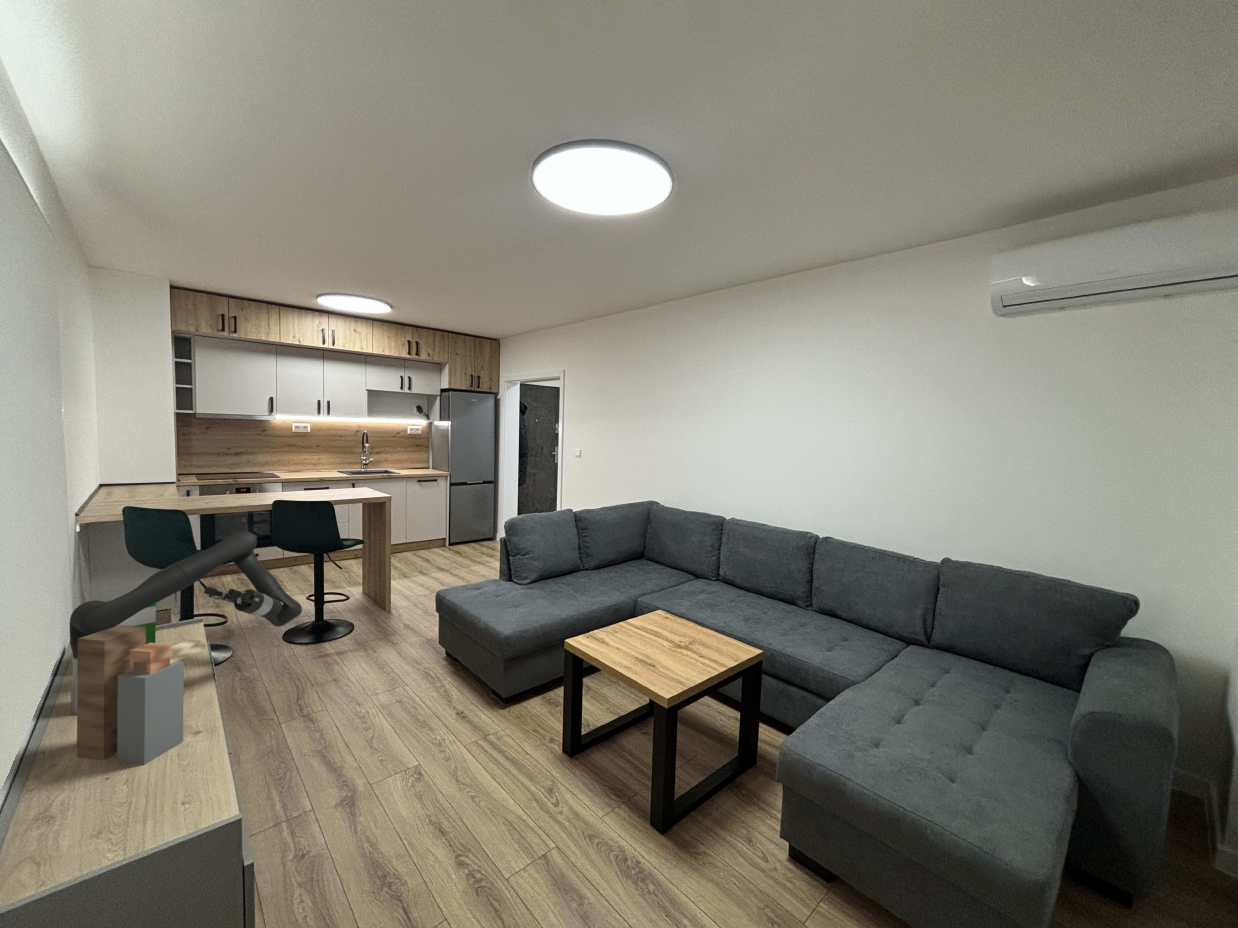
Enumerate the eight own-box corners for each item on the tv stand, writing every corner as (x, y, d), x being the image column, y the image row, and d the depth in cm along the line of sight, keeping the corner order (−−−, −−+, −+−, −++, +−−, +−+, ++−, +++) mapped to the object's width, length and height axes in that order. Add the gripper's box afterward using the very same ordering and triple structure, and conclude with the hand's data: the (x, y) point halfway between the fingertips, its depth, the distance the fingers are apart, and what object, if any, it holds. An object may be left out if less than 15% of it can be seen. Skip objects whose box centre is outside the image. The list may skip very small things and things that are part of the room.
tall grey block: (157, 738, 135) (158, 659, 134) (182, 741, 134) (183, 661, 134) (117, 761, 125) (117, 675, 124) (144, 764, 124) (145, 678, 124)
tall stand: (119, 734, 136) (120, 624, 135) (144, 737, 135) (146, 626, 135) (76, 757, 126) (77, 638, 125) (103, 760, 125) (104, 640, 125)
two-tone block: (189, 647, 142) (190, 628, 142) (208, 649, 142) (208, 629, 142) (130, 672, 126) (130, 650, 126) (150, 673, 126) (150, 651, 126)
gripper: (241, 590, 172) (204, 577, 158) (277, 593, 170) (242, 581, 156) (231, 611, 168) (192, 600, 154) (267, 615, 166) (231, 604, 152)
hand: (217, 590), depth 155 cm, fingers open, 8 cm apart
